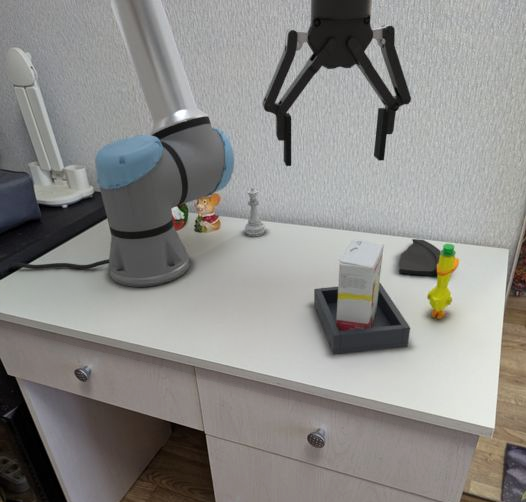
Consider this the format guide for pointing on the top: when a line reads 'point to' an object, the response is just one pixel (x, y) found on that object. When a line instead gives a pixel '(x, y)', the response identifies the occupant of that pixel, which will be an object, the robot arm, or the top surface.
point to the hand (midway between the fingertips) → (333, 161)
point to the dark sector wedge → (420, 259)
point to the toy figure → (443, 281)
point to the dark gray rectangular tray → (375, 338)
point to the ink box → (358, 285)
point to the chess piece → (254, 217)
